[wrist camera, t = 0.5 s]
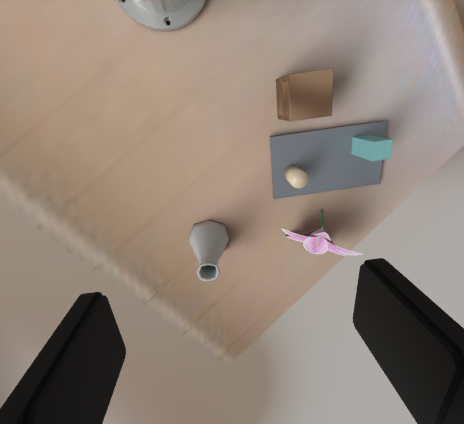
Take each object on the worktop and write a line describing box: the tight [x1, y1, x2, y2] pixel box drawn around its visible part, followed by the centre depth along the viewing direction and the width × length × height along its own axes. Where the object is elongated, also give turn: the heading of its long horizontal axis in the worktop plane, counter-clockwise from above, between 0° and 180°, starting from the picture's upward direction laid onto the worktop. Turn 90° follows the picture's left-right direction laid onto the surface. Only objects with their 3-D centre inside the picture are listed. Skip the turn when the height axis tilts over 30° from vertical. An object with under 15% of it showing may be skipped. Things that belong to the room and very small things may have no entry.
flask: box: [189, 220, 229, 282], centre depth 40 cm, size 7×7×10 cm
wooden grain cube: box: [276, 69, 333, 121], centre depth 33 cm, size 5×5×7 cm
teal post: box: [351, 135, 393, 161], centre depth 36 cm, size 3×3×6 cm
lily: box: [282, 209, 362, 256], centre depth 42 cm, size 12×12×10 cm
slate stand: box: [270, 121, 387, 199], centre depth 38 cm, size 10×18×5 cm, turn 97°
